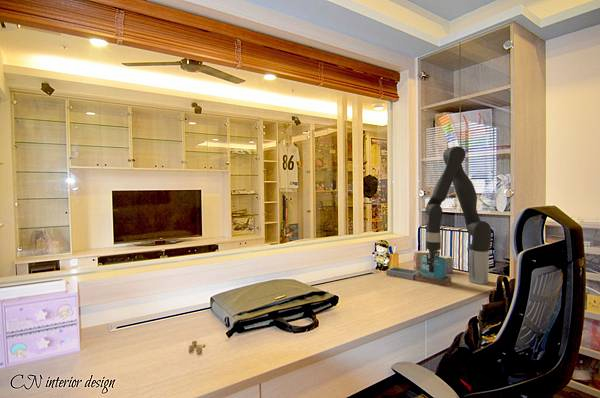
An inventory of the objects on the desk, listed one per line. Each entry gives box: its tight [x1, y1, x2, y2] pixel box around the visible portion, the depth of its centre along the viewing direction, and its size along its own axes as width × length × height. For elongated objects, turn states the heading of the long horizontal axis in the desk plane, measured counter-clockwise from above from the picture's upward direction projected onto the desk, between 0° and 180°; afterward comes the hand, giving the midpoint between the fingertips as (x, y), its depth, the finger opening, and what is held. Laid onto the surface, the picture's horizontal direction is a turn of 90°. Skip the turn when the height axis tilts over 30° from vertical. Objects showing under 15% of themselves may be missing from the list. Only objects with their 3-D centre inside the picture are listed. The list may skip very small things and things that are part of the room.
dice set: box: [188, 340, 207, 354], centre depth 100 cm, size 5×5×2 cm
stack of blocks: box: [413, 250, 454, 274], centre depth 193 cm, size 21×6×12 cm, turn 84°
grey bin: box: [385, 266, 420, 281], centre depth 183 cm, size 10×16×3 cm, turn 49°
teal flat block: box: [421, 255, 447, 280], centre depth 172 cm, size 12×4×12 cm, turn 37°
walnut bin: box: [414, 272, 452, 287], centre depth 172 cm, size 10×16×3 cm, turn 48°
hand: (433, 271), depth 172 cm, fingers closed on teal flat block, 5 cm apart
